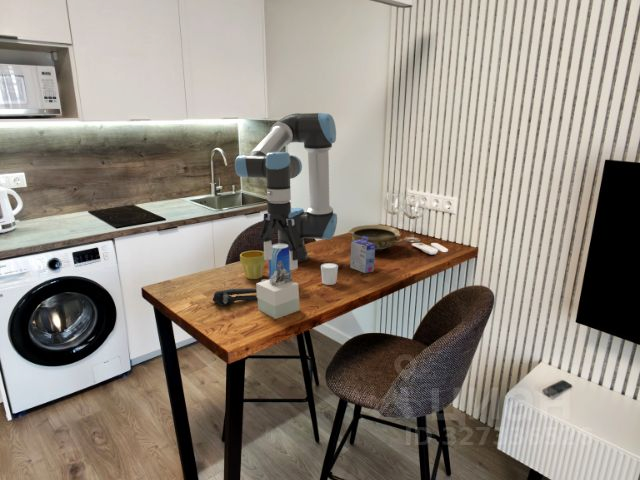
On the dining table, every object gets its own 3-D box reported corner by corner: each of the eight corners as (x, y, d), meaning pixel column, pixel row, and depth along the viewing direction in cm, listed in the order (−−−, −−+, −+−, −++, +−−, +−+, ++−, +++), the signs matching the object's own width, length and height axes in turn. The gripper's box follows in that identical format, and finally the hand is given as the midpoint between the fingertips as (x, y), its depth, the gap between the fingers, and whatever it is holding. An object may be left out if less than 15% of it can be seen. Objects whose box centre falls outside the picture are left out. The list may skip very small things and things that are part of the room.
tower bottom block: (258, 310, 146) (257, 296, 145) (281, 302, 153) (281, 289, 152) (275, 320, 139) (275, 305, 138) (299, 311, 146) (299, 297, 144)
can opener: (214, 309, 146) (213, 294, 145) (212, 301, 153) (211, 287, 151) (265, 302, 153) (265, 287, 151) (261, 295, 159) (260, 280, 157)
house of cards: (280, 274, 152) (279, 253, 150) (296, 280, 146) (296, 258, 144) (260, 280, 146) (259, 258, 144) (276, 287, 140) (275, 264, 138)
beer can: (282, 290, 162) (281, 250, 158) (265, 286, 167) (263, 246, 162) (295, 283, 169) (294, 244, 165) (278, 279, 173) (277, 241, 169)
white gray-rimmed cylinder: (325, 286, 166) (325, 269, 164) (317, 280, 172) (317, 264, 170) (341, 283, 169) (341, 266, 168) (332, 278, 175) (332, 261, 173)
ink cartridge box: (375, 271, 183) (376, 238, 179) (365, 274, 180) (366, 240, 176) (359, 265, 191) (359, 233, 187) (349, 267, 188) (350, 235, 184)
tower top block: (256, 297, 145) (256, 283, 143) (280, 289, 151) (279, 276, 150) (275, 306, 138) (274, 291, 136) (298, 297, 144) (298, 283, 143)
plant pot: (239, 273, 180) (237, 251, 177) (263, 271, 183) (262, 249, 181) (243, 282, 171) (242, 259, 168) (269, 279, 174) (268, 256, 171)
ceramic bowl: (335, 250, 213) (335, 230, 210) (361, 240, 231) (362, 221, 229) (388, 262, 195) (389, 241, 192) (412, 250, 213) (413, 230, 211)
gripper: (246, 197, 144) (249, 258, 149) (295, 208, 126) (296, 276, 132) (265, 195, 149) (267, 253, 154) (314, 205, 131) (314, 270, 137)
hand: (280, 264), depth 143 cm, fingers open, 13 cm apart
